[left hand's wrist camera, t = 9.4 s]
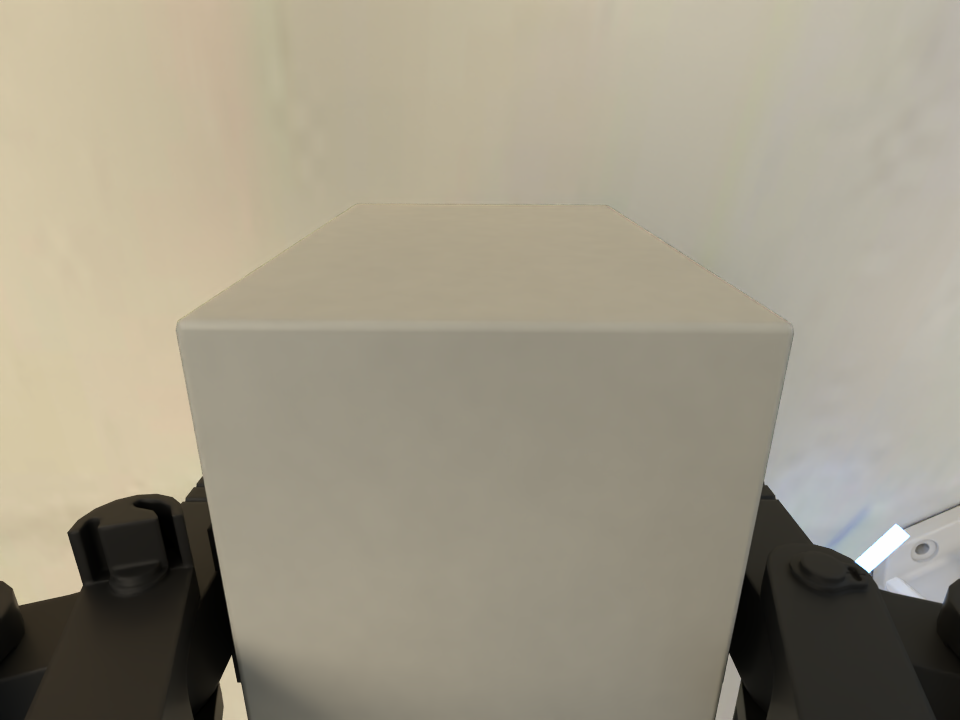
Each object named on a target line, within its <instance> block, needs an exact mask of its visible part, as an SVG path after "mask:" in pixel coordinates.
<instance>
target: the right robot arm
mask: <svg viewBox="0 0 960 720" xmlns="http://www.w3.org/2000/svg"><path fill="white" fill-rule="evenodd" d="M855 562H856V563H857V564H859V565H860V566H861V567H863V568H864V569H865V570H867V571H868V573H869V572H870V571H872V570H873V580H874V581H875V582H876V584H877V586H878V588H879V589H881V590H885V591H889V592H892V593H897V594H901V595H906V596H911V597H915V598H920V599H925V600H929V601H934V602H939V603H943V602H944V599H945V596H946V593H947V590H948V588H949V586H950V585H951V584H952V583H954V582H955V581H956V580H958V579H960V505H959V506H957V507H955V508H953V509H950V510H948V511H946V512H943V513H941V514H939V515H936V516H934V517H932V518H929V519H927V520H925V521H922V522H920V523H918V524H915V525H913V526H911V527H908V528H906V529H904V530H903V529H902V528H900V527H899V526H898V525H896V524H895V525H894V526H893V527H892V528H891V529H890V530H889V531H888V532H887V533H886V534H884V535H883V536H882V537H881V538H880V539H879V540H878V541H877V542H876V543H875V544H874V545H872V546H871V547H870V548H869V549H868V550H867V551H866V552H865V553H864V554H863V555H861V556H860V557H859V558H858V559H857V560H856V561H855Z"/></svg>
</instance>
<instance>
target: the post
mask: <svg viewBox="0 0 960 720" xmlns="http://www.w3.org/2000/svg"><path fill="white" fill-rule="evenodd" d="M176 334H177V339H178V344H179V350H180V355H181V361H182V366H183V371H184V377H185V382H186V388H187V393H188V398H189V404H190V409H191V415H192V420H193V425H194V431H195V436H196V441H197V447H198V452H199V458H200V463H201V468H202V474H203V479H204V485H205V490H206V495H207V501H208V506H209V512H210V517H211V522H212V528H213V533H214V539H215V544H216V549H217V555H218V560H219V566H220V571H221V576H222V582H223V587H224V593H225V598H226V603H227V609H228V614H229V620H230V625H231V630H232V636H233V641H234V646H235V652H236V657H237V663H238V668H239V673H240V679H241V684H242V690H243V695H244V700H245V706H246V711H247V717H248V720H715V717H716V712H717V707H718V703H719V698H720V693H721V688H722V683H723V678H724V673H725V668H726V663H727V658H728V654H729V649H730V644H731V639H732V634H733V629H734V624H735V619H736V614H737V609H738V605H739V600H740V595H741V590H742V585H743V580H744V575H745V570H746V565H747V561H748V556H749V551H750V546H751V541H752V536H753V531H754V526H755V521H756V516H757V512H758V507H759V502H760V497H761V492H762V487H763V482H764V477H765V472H766V467H767V463H768V458H769V453H770V448H771V443H772V438H773V433H774V428H775V423H776V419H777V414H778V409H779V404H780V399H781V394H782V389H783V384H784V379H785V374H786V370H787V365H788V360H789V355H790V350H791V345H792V340H793V335H794V331H793V326H792V324H791V323H790V322H788V321H787V320H785V319H783V318H782V317H780V316H779V315H777V314H776V313H774V312H773V311H771V310H769V309H768V308H766V307H765V306H763V305H762V304H760V303H759V302H757V301H755V300H754V299H752V298H751V297H749V296H748V295H746V294H745V293H743V292H742V291H740V290H738V289H737V288H735V287H734V286H732V285H731V284H729V283H728V282H726V281H724V280H723V279H721V278H720V277H718V276H717V275H715V274H714V273H712V272H710V271H709V270H707V269H706V268H704V267H703V266H701V265H700V264H698V263H697V262H695V261H693V260H692V259H690V258H689V257H687V256H686V255H684V254H683V253H681V252H679V251H678V250H676V249H675V248H673V247H672V246H670V245H669V244H667V243H665V242H664V241H662V240H661V239H659V238H658V237H656V236H655V235H653V234H651V233H650V232H648V231H647V230H645V229H644V228H642V227H641V226H639V225H638V224H636V223H634V222H633V221H631V220H630V219H628V218H627V217H625V216H624V215H622V214H620V213H619V212H617V211H616V210H614V209H613V208H611V207H610V206H607V205H505V204H356V205H354V206H352V207H351V208H349V209H348V210H346V211H345V212H343V213H341V214H340V215H338V216H337V217H335V218H334V219H332V220H331V221H329V222H328V223H326V224H325V225H323V226H322V227H320V228H319V229H317V230H315V231H314V232H312V233H311V234H309V235H308V236H306V237H305V238H303V239H302V240H300V241H299V242H297V243H296V244H294V245H293V246H291V247H290V248H288V249H286V250H285V251H283V252H282V253H280V254H279V255H277V256H276V257H274V258H273V259H271V260H270V261H268V262H267V263H265V264H264V265H262V266H260V267H259V268H257V269H256V270H254V271H253V272H251V273H250V274H248V275H247V276H245V277H244V278H242V279H241V280H239V281H238V282H236V283H235V284H233V285H231V286H230V287H228V288H227V289H225V290H224V291H222V292H221V293H219V294H218V295H216V296H215V297H213V298H212V299H210V300H209V301H207V302H205V303H204V304H202V305H201V306H199V307H198V308H196V309H195V310H193V311H192V312H190V313H189V314H187V315H186V316H184V317H183V318H181V319H179V320H178V322H177V326H176Z"/></svg>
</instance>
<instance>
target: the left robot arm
mask: <svg viewBox="0 0 960 720" xmlns="http://www.w3.org/2000/svg"><path fill="white" fill-rule="evenodd" d="M67 533H68V536H69V540H70V543H71V546H72V550H73V553H74V556H75V560H76V563H77V566H78V570H79V573H80V576H81V580H82V583H83V587H82V589H81V591H80V592H78V593H74V594H71V595H67V596H62V597H57V598H53V599H48V600H43V601H39V602H34V603H29V604H25V605H20V606H18V603H17V600H16V597H15V594H14V591H13V589H12V588H11V587H10V586H8V585H7V584H6V583H5V582H3V581H0V720H222V716H223V707H224V706H223V699H222V692H221V688H220V683H219V681H220V679H221V677H222V675H223V672H224V670H225V668H226V666H227V664H228V662H229V659H230V657H231V655H232V658H233V663H234V668H235V673H236V678H237V682H241V679H240V673H239V668H238V663H237V657H236V652H235V646H234V641H233V636H232V630H231V625H230V620H229V614H228V609H227V603H226V598H225V593H224V587H223V582H222V576H221V571H220V566H219V560H218V555H217V549H216V544H215V539H214V533H213V528H212V522H211V517H210V512H209V506H208V501H207V495H206V490H205V485H204V479H203V476H202V478H201V479H200V480H199V481H198V483H197V486H196V487H194V488H193V489H192V490H191V492H190V493H189V494H188V496H187V497H186V500H185V502H182V503H181V504H180V503H179V502H178V501H177V500H175V499H174V498H173V497H169V496H164V495H160V494H146V495H135V496H131V497H127V498H122V499H118V500H115V501H113V502H110V503H108V504H105V505H103V506H101V507H98V508H96V509H94V510H93V511H91V512H90V513H88V514H87V515H85V516H83V517H82V518H80V519H79V520H78V521H77V522H76V523H75V524H74V525H73V527H72V528H71V529H70V530H69V531H68V532H67ZM729 653H730V656H731V658H732V660H733V662H734V664H735V666H736V668H737V670H738V673H739V675H740V677H741V683H740V688H739V692H738V697H737V702H736V706H735V711H734V716H733V720H960V579H958V580H956V581H955V582H954V583H952V584H951V585H950V586H949V588H948V590H947V593H946V596H945V599H944V602H943V603H939V602H934V601H929V600H925V599H920V598H915V597H911V596H906V595H901V594H897V593H892V592H889V591H885V590H881V589H879V588H878V586H877V584H876V582H875V581H874V580H873V578H872V577H871V576H870V574H869V573H868V571H867V570H865V569H864V568H863V567H861V566H860V565H859V564H857V563H856V562H855V561H853V560H852V559H851V558H849V557H847V556H845V555H842V554H840V553H838V552H836V551H834V550H832V549H829V548H825V547H822V546H818V545H814V544H813V543H812V542H811V541H810V540H809V538H808V537H807V536H806V534H805V533H804V532H803V531H802V529H801V528H800V527H799V526H798V524H797V523H796V522H795V520H794V519H793V518H792V517H791V515H790V514H789V513H788V512H787V510H786V509H785V508H784V506H783V505H782V504H781V503H780V501H779V500H776V499H775V495H774V494H773V492H772V491H771V490H770V489H769V487H768V486H767V485H764V482H763V487H762V492H761V497H760V502H759V507H758V512H757V516H756V521H755V526H754V531H753V536H752V541H751V546H750V551H749V556H748V561H747V565H746V570H745V575H744V580H743V585H742V590H741V595H740V600H739V605H738V609H737V614H736V619H735V624H734V629H733V634H732V639H731V644H730V649H729ZM728 655H729V654H728ZM727 660H728V658H727ZM726 665H727V663H726ZM725 670H726V668H725ZM724 675H725V673H724ZM723 680H724V678H723Z"/></svg>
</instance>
